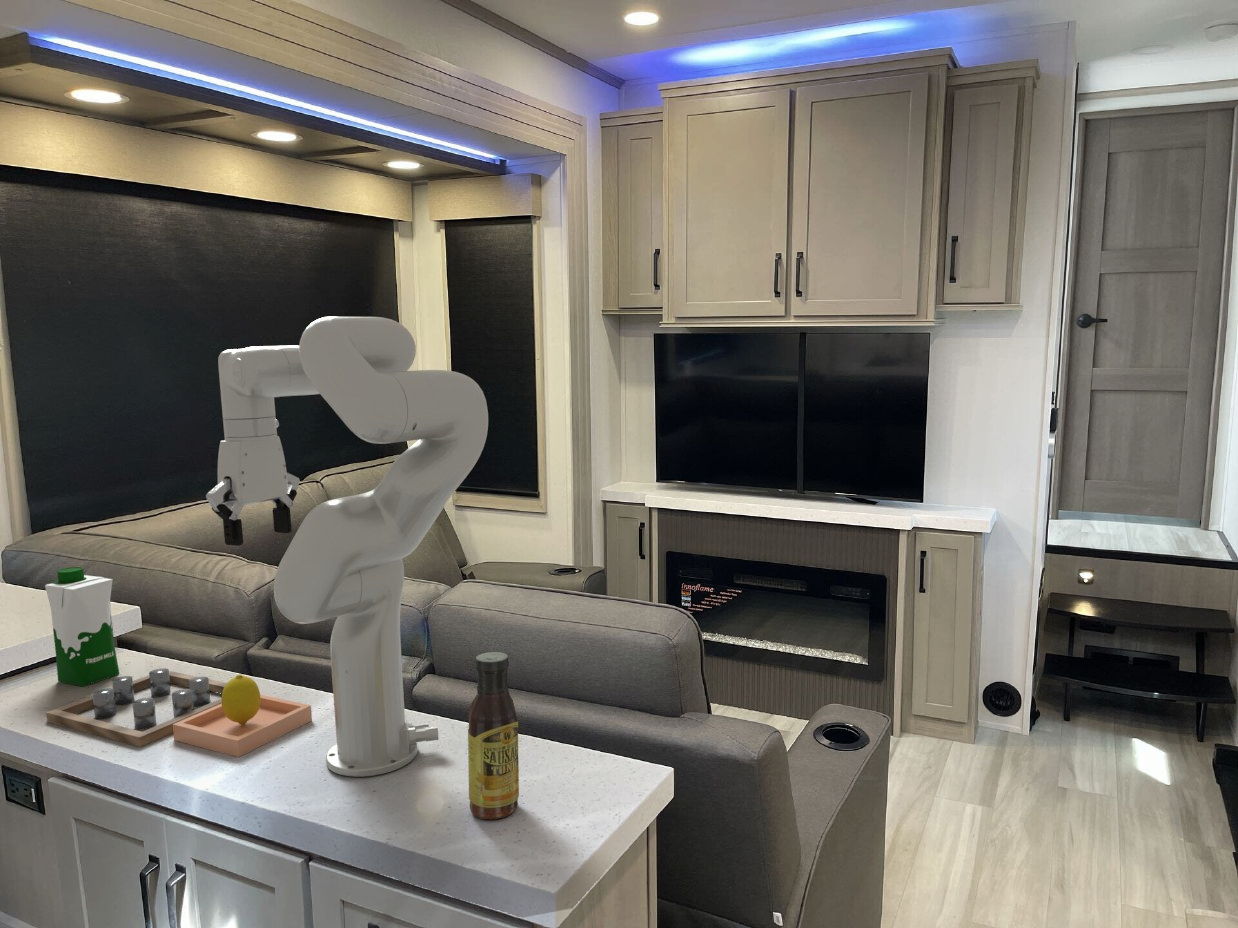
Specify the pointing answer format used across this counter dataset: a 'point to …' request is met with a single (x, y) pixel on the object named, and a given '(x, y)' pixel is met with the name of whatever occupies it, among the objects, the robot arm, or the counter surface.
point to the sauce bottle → (493, 741)
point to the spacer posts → (145, 706)
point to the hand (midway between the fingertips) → (259, 538)
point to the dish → (242, 726)
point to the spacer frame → (70, 719)
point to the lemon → (240, 699)
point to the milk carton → (82, 627)
